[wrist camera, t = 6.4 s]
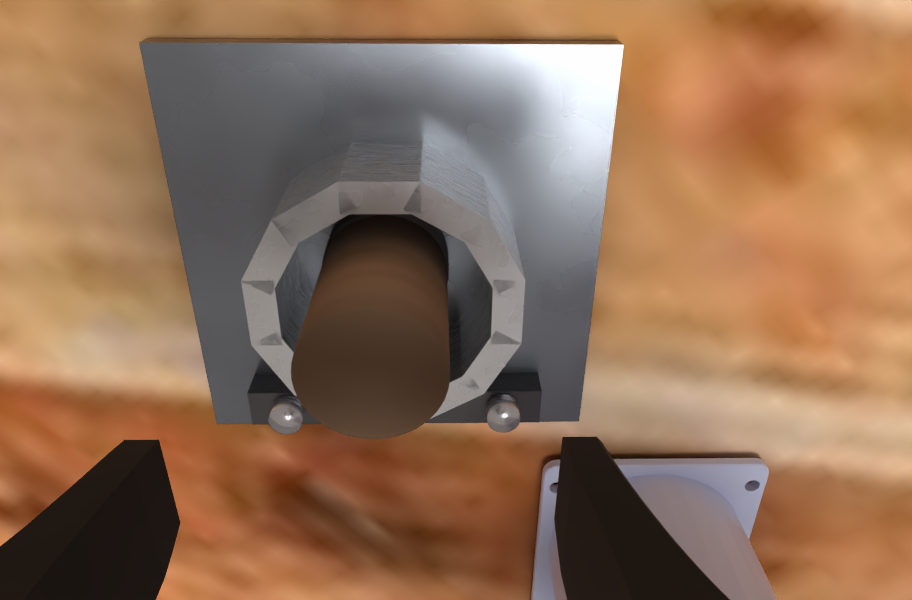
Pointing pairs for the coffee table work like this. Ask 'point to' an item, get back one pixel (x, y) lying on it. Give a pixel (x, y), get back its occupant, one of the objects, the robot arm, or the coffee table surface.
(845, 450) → the coffee table surface
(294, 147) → the cup bracket
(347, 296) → the dowel
